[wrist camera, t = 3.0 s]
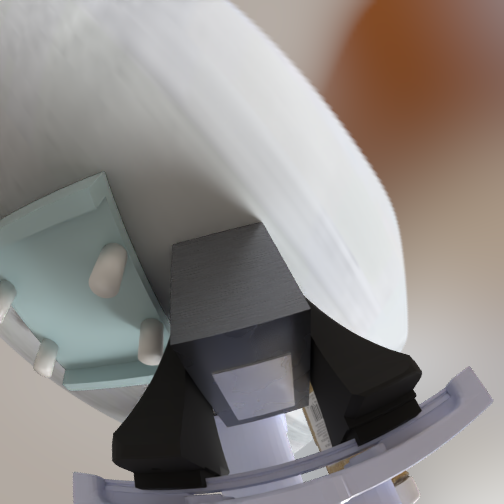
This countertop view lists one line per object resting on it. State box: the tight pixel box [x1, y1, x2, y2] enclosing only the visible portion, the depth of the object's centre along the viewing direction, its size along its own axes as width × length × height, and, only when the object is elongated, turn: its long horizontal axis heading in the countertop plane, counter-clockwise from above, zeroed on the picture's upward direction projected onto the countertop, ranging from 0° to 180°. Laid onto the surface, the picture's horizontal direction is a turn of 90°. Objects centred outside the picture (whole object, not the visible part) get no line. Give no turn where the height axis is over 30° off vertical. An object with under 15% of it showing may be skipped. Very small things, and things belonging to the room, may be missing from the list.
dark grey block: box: [170, 222, 311, 427], centre depth 11 cm, size 7×4×6 cm, turn 9°
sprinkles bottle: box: [302, 383, 420, 504], centre depth 13 cm, size 5×5×13 cm
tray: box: [0, 171, 170, 391], centre depth 11 cm, size 11×8×3 cm
